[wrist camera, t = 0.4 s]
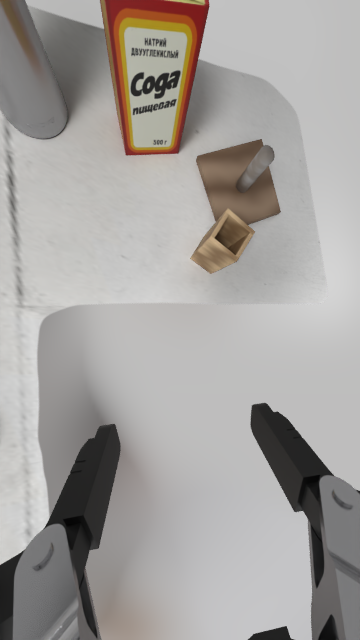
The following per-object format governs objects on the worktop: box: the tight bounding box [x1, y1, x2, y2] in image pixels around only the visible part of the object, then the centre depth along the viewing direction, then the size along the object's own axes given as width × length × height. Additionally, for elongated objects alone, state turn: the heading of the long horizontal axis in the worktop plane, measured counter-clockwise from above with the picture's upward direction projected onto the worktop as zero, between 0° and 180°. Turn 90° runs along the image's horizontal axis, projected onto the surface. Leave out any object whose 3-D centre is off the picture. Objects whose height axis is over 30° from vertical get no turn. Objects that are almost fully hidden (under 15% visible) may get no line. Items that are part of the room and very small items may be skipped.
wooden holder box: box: [190, 209, 255, 274], centre depth 29 cm, size 5×5×10 cm
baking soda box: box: [100, 0, 209, 155], centre depth 22 cm, size 10×6×16 cm
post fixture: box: [196, 139, 281, 225], centre depth 30 cm, size 14×14×8 cm
